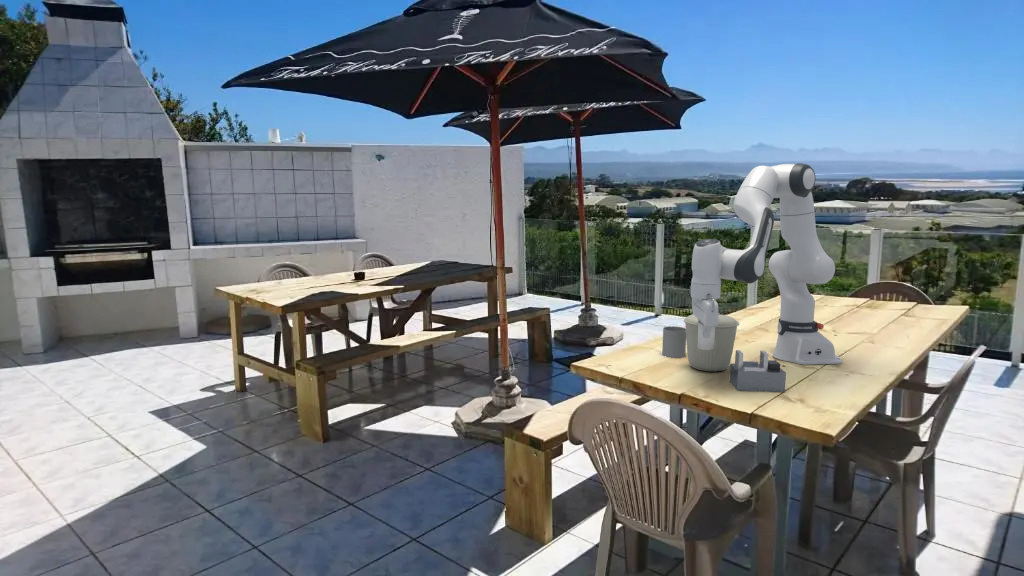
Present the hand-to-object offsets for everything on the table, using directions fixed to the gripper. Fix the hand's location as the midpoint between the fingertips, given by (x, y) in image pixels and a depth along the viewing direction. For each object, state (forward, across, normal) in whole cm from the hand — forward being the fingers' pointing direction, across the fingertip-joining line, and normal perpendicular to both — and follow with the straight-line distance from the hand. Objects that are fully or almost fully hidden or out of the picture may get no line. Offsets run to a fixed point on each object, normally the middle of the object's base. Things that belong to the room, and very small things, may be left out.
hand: (704, 335), depth 190 cm
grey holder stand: (+15, -4, -15) cm, 22 cm away
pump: (+4, 0, -1) cm, 4 cm away
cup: (+15, +32, +4) cm, 36 cm away
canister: (+15, +16, -6) cm, 23 cm away
